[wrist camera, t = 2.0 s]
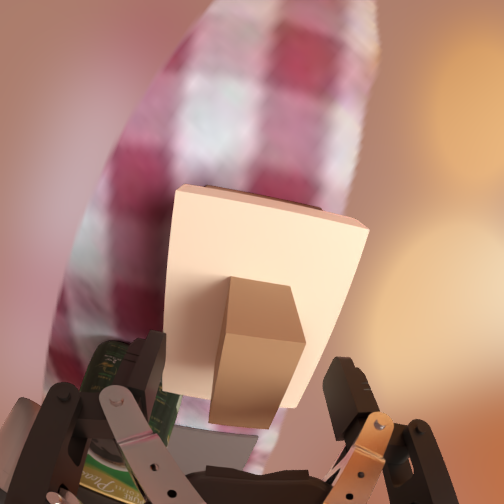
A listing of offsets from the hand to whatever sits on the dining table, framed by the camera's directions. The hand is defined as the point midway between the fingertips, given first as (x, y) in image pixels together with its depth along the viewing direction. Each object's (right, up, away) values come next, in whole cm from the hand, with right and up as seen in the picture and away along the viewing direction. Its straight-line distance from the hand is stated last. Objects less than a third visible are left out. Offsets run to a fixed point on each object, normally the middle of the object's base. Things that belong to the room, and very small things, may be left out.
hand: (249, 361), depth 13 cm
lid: (0, +2, +5) cm, 5 cm away
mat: (-8, -24, +20) cm, 33 cm away
